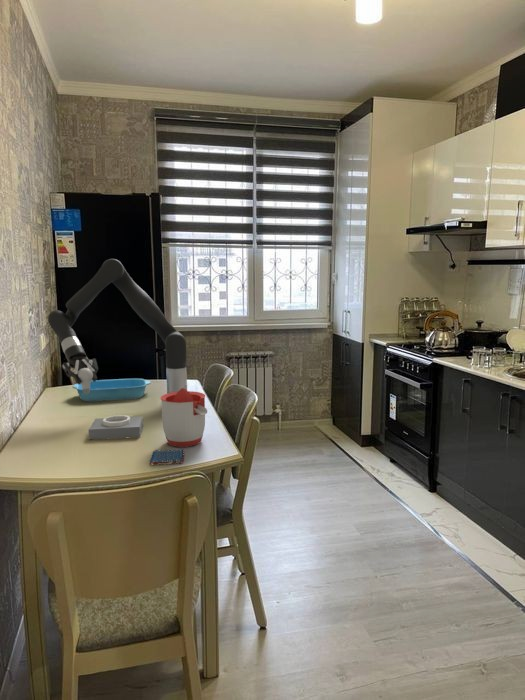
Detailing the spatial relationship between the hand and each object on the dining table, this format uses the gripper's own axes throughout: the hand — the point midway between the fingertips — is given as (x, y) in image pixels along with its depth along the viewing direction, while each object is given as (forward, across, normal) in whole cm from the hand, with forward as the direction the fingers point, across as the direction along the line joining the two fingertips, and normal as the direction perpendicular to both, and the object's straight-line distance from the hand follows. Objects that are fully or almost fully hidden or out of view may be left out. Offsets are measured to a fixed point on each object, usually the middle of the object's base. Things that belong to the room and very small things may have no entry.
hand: (87, 381), depth 199 cm
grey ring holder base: (+27, +1, -3) cm, 27 cm away
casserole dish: (-12, +27, +36) cm, 47 cm away
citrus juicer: (+47, +13, -23) cm, 54 cm away
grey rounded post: (+3, 0, +5) cm, 6 cm away
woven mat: (+53, 0, -29) cm, 61 cm away
